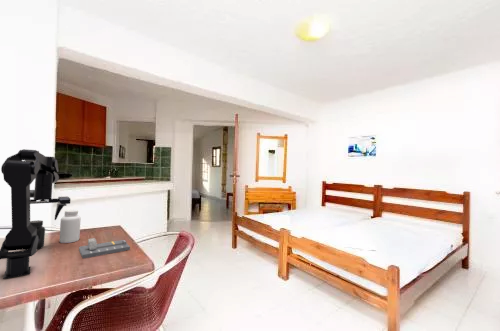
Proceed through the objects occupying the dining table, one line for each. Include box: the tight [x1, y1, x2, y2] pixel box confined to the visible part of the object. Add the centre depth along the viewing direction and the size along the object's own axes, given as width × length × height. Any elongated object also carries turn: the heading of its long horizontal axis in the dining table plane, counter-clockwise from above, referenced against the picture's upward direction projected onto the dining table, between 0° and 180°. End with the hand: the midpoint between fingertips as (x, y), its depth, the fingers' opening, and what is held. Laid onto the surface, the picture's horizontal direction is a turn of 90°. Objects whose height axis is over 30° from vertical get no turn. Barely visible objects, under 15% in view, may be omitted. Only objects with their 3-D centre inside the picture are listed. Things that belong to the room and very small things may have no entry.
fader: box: [87, 237, 98, 250], centre depth 104 cm, size 5×2×4 cm, turn 42°
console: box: [78, 239, 131, 259], centre depth 107 cm, size 12×18×3 cm, turn 132°
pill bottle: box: [58, 209, 81, 244], centre depth 117 cm, size 8×8×15 cm
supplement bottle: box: [24, 220, 46, 251], centre depth 105 cm, size 7×7×12 cm
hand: (41, 221), depth 102 cm, fingers open, 9 cm apart
